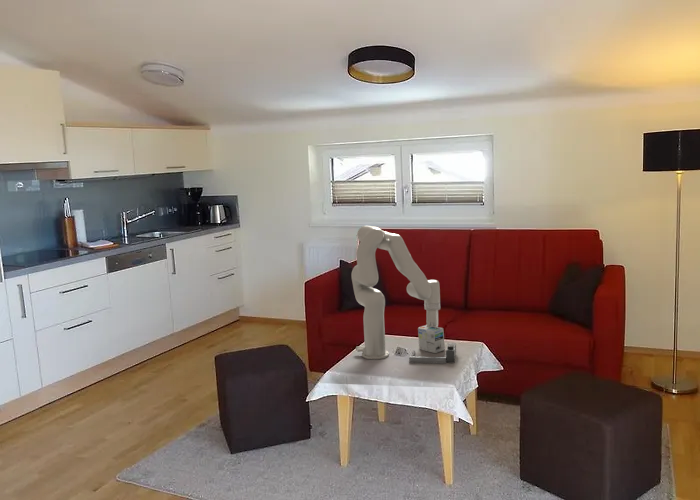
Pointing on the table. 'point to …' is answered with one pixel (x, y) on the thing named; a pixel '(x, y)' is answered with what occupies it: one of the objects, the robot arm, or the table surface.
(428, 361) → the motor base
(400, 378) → the table surface
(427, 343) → the light bulb box
